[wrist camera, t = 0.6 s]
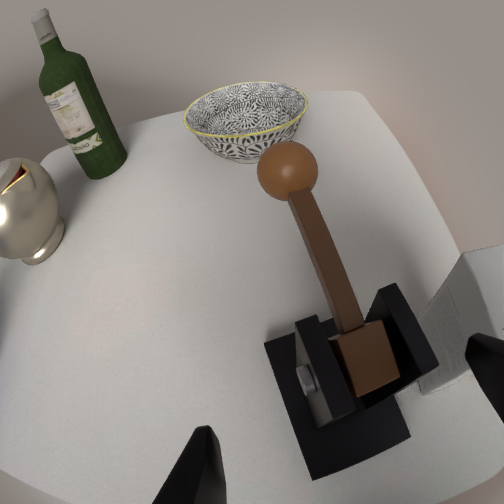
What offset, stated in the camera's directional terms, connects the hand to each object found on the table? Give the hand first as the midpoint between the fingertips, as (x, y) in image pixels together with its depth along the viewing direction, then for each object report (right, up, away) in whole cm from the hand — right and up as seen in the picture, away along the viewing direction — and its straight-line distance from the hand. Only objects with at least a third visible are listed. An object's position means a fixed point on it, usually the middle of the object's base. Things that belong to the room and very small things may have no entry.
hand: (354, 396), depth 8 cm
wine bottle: (-28, +19, +38) cm, 51 cm away
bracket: (+3, -7, +13) cm, 15 cm away
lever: (0, +4, +8) cm, 8 cm away
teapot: (-35, +6, +30) cm, 46 cm away
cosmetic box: (+12, -5, +14) cm, 19 cm away
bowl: (-3, +19, +33) cm, 38 cm away
